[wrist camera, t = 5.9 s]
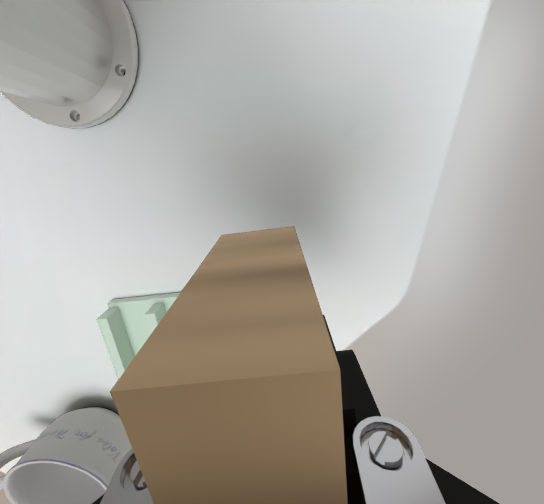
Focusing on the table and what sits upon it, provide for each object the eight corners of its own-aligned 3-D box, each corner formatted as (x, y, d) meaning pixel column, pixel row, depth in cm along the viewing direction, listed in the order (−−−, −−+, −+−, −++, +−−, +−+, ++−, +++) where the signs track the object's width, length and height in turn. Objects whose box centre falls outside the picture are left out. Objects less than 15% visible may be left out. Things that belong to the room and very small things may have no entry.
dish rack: (112, 299, 29) (93, 315, 26) (255, 284, 29) (253, 298, 26) (142, 387, 33) (128, 410, 30) (269, 376, 32) (269, 398, 29)
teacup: (151, 406, 34) (116, 476, 26) (137, 464, 37) (101, 542, 29) (37, 377, 33) (-35, 441, 25) (32, 440, 36) (-33, 514, 28)
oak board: (221, 234, 10) (109, 391, 3) (294, 226, 10) (339, 369, 3) (257, 422, 13) (238, 718, 6) (313, 418, 12) (359, 712, 6)
